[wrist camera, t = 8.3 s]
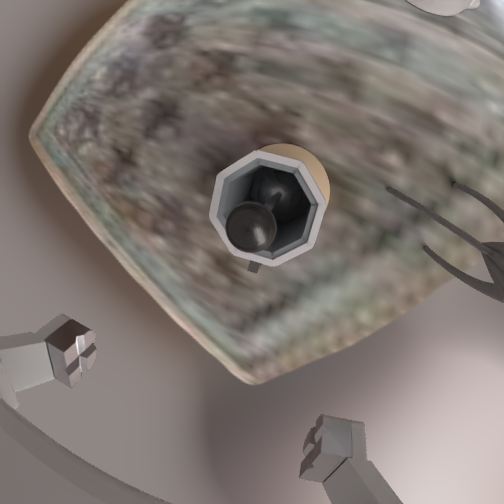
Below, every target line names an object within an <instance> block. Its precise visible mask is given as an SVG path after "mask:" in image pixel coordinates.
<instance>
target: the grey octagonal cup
mask: <svg viewBox="0 0 504 504" xmlns="http://www.w3.org/2000/svg"><path fill="white" fill-rule="evenodd" d="M272 171H286V172H288V173H290V174H292V175H294V176H295V177H296V178H297V180H298V182H299V183H300V185H301V187H302V190H303V199H302V203H301V205H300V207H299V209H298V210H297V211H296V212H295V213H294V214H292V215H291V216H289V217H286V218H275V219H276V223H277V231H276V235H275V238H274V240H273V242H272V243H271V244H270V245H269V246H268V247H267V248H266V249H264V250H262V251H260V252H256V253H246V252H242V251H240V250H238V249H237V248H235V247H234V246H233V245H232V244H231V243H230V241H229V240H228V238H227V235H226V230H225V224H226V220H227V217H228V215H229V213H230V212H231V211H232V209H234V208H235V207H236V206H237V205H239V204H241V203H244V202H256V200H255V188H256V185H257V183H258V182H259V180H260V179H261V178H262V177H263V176H264V175H266V174H267V173H269V172H272ZM218 174H219V175H217V178H216V183H215V187H214V192H213V197H212V202H211V207H210V213H209V217H210V218H209V219H210V220H211V222H212V224H213V225H214V227H215V228H216V230H217V232H218V233H219V235H220V236H221V238H222V240H223V241H224V243H225V244H226V246H227V248H228V249H229V251H230V252H231V254H232V253H233V255H235V256H238V257H242V258H245V259H248V260H250V264H249V268H248V271H251V272H254V273H257V272H258V270H259V268H260V266H261V264H265V265H268V266H272V267H273V266H275V267H276V266H278V265H280V264H282V263H284V262H286V261H288V260H290V259H292V258H294V257H296V256H298V255H300V254H302V253H304V252H306V251H308V250H309V249H311V248H313V246H314V244H315V241H316V238H317V235H318V231H319V228H320V225H321V222H322V218H323V215H324V212H325V210H326V208H327V205H328V201H329V196H330V185H329V180H328V177H327V174H326V171H325V169H324V167H323V166H322V164H321V163H320V162H319V160H318V159H317V158H316V157H315V156H314V155H313V154H311V153H310V152H308V151H307V150H305V149H303V148H301V147H299V146H296V145H292V144H283V143H280V144H272V145H268V146H265V147H263V148H261V149H259V150H255V151H253V152H251V153H250V154H248V155H246V156H245V157H243V158H242V159H240V160H238V161H237V162H235V163H234V164H232V165H231V166H229V167H227V168H226V169H224V170H223V171H221V172H220V173H218Z"/></svg>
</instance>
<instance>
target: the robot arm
mask: <svg viewBox="0 0 504 504" xmlns="http://www.w3.org/2000/svg"><path fill="white" fill-rule="evenodd" d="M407 1H408V2H410V3H411V4H413V5H415V6H416V7H418V8H420V9H422V10H424V11H427V12H430V13H433V14H437V15H443V16H450V15H455V14H458V13H460V12H461V11H463V10H464V9H475V8H478V6H479V5H480V1H479V0H407ZM95 340H96V338H95V332H93V331H92V330H90V329H89V328H87V327H85V326H84V325H82V324H80V323H78V322H77V321H75V320H73V319H71V318H69V317H68V316H66V315H64V314H60V315H58V316H57V317H56V318H54V319H53V320H51V321H50V322H49V323H47V324H46V325H45V326H43V327H42V328H41V329H39V330H38V331H37V332H36V333H32V332H28V333H22V334H16V335H9V336H3V337H0V504H171V503H169V502H166V501H164V500H162V499H159V498H157V497H154V496H152V495H150V494H148V493H145V492H143V491H141V490H139V489H137V488H135V487H133V486H131V485H128V484H126V483H124V482H123V481H120V480H119V479H117V478H115V477H113V476H111V475H109V474H107V473H106V472H104V471H102V470H100V469H98V468H97V467H95V466H93V465H91V464H90V463H88V462H86V461H85V460H83V459H82V458H80V457H79V456H77V455H75V454H74V453H72V452H71V451H69V450H68V449H66V448H65V447H63V446H62V445H60V444H59V443H57V442H56V441H55V440H53V439H52V438H50V437H49V436H47V435H46V434H45V433H44V432H42V431H41V430H40V429H38V428H37V427H36V426H34V425H33V424H32V423H31V422H29V421H28V420H27V419H26V418H24V417H23V416H22V415H21V414H20V413H18V412H17V411H16V410H15V409H16V408H17V407H18V406H19V401H18V398H17V396H16V394H15V392H18V391H21V390H24V389H27V388H30V387H33V386H36V385H39V384H42V383H45V382H48V381H50V380H53V379H54V378H56V379H57V380H59V381H61V382H62V383H64V384H65V385H67V386H69V387H70V388H73V386H74V385H75V384H76V383H77V382H78V381H79V380H80V379H81V378H82V372H85V371H89V370H90V369H91V367H92V366H93V365H94V363H95V361H96V357H97V349H96V347H95V345H94V343H93V342H94V341H95ZM366 451H367V450H366V434H365V424H364V423H363V422H359V421H353V420H348V419H343V418H338V417H333V416H328V415H323V414H321V415H320V416H319V417H318V418H317V420H316V426H315V427H313V428H311V429H310V431H309V432H308V434H307V436H306V439H305V442H304V446H303V454H304V455H305V458H304V460H303V461H302V462H301V467H300V475H299V478H301V479H306V480H310V481H316V482H321V483H322V484H323V486H324V488H325V491H326V493H327V495H328V497H329V499H330V501H331V503H332V504H403V503H402V502H401V500H400V499H399V498H398V496H397V495H396V494H395V492H394V491H393V490H392V488H391V487H390V486H389V484H388V483H387V482H386V480H385V479H384V478H383V476H382V475H381V474H380V473H379V471H378V470H377V468H376V467H375V466H374V464H373V463H372V462H371V461H368V460H367V452H366Z"/></svg>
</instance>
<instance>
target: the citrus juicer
mask: <svg viewBox="0 0 504 504" xmlns="http://www.w3.org/2000/svg"><path fill="white" fill-rule="evenodd" d="M453 186H454V187H455V188H458V189H460V190H462V191H464V192H466V193H468V194H470V195H471V196H473V197H475V198H476V199H478V200H479V201H480V202H482V203H483V204H484V205H486V206H487V207H488V208H489V209H490V210H492V211H493V212H494V213H495V214H496V215H497V216H498V217H499V218H500V219H501V220H502V221H503V223H504V210H502V209H501V208H500V207H499V206H498V205H496V204H495V203H494V202H492V201H491V200H490V199H488V198H486V197H485V196H483V195H482V194H480V193H478V192H477V191H475V190H473V189H471V188H469V187H467V186H465V185H463V184H460V183H456V182H455V183H454V184H453ZM388 192H390V193H391V194H393V195H394V196H396V197H398V198H399V199H401V200H403V201H404V202H406V203H408V204H409V205H411V206H413V207H414V208H416V209H418V210H419V211H421V212H423V213H424V214H426V215H427V216H429V217H431V218H432V219H434V220H435V221H437V222H438V223H440V224H442V225H443V226H445V227H446V228H448V229H449V230H451V231H452V232H454V233H455V234H457V235H458V236H460V237H461V238H463V239H464V240H465V241H467V242H468V243H470V244H471V245H473V246H474V247H476V248H477V249H478V250H480V251H481V253H482V255H483V258H484V261H485V263H486V266H487V268H488V271H489V273H490V275H491V277H492V279H493V281H494V284H493V283H489V282H484V281H481V280H478V279H476V278H474V277H471V276H469V275H467V274H466V273H464V272H462V271H460V270H458V269H457V268H455V267H453V266H452V265H450V264H449V263H447V262H446V261H445V260H443V259H442V258H441V257H439V256H438V255H437V254H436V253H434V252H433V251H432V250H431V249H430V248H429V247H428V246H425V247H424V250H425V252H426V253H427V254H428V255H429V256H430V257H431V258H433V259H434V260H435V261H436V262H437V263H438V264H440V265H441V266H442V267H443V268H445V269H446V270H447V271H448V272H450V273H451V274H453V275H454V276H455V277H457V278H458V279H460V280H461V281H463V282H464V283H466V284H468V285H469V286H471V287H473V288H474V289H476V290H478V291H480V292H482V293H483V294H485V295H487V296H489V297H491V298H493V299H496V300H498V301H500V302H502V303H504V242H485V243H480V242H479V241H477V240H476V239H475V238H473V237H472V236H470V235H469V234H467V233H466V232H464V231H463V230H461V229H460V228H458V227H456V226H455V225H453V224H452V223H450V222H449V221H447V220H446V219H444V218H442V217H441V216H439V215H438V214H436V213H434V212H433V211H431V210H430V209H428V208H426V207H425V206H423V205H421V204H420V203H418V202H416V201H415V200H413V199H411V198H410V197H408V196H406V195H404V194H403V193H401V192H399V191H397V190H396V189H394V188H392V187H388Z"/></svg>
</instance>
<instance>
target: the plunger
mask: <svg viewBox="0 0 504 504" xmlns="http://www.w3.org/2000/svg"><path fill="white" fill-rule="evenodd" d="M302 199H303V190H302V187H301V185H300V183H299V182H298V180H297V178H296V177H295V176H294V175H292V174H290V173H288V172H286V171H272V172H269V173H267V174H266V175H264V176H263V177H262V178H261V179H260V180H259V182H258V183H257V185H256V188H255V200H256V202H244V203H241V204H239V205H237V206H236V207H235V208H234V209H232V211H231V212H230V213H229V215H228V217H227V220H226V224H225V230H226V235H227V238H228V240H229V241H230V243H231V244H232V245H233V246H234V247H235V248H237V249H238V250H240V251H242V252H246V253H256V252H260V251H262V250H264V249H266V248H267V247H268V246H269V245H270V244H271V243H272V242H273V240H274V238H275V235H276V231H277V223H276V219H275V218H286V217H289V216H291V215H292V214H294V213H295V212H296V211H297V210H298V209H299V207H300V205H301V203H302Z"/></svg>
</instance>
